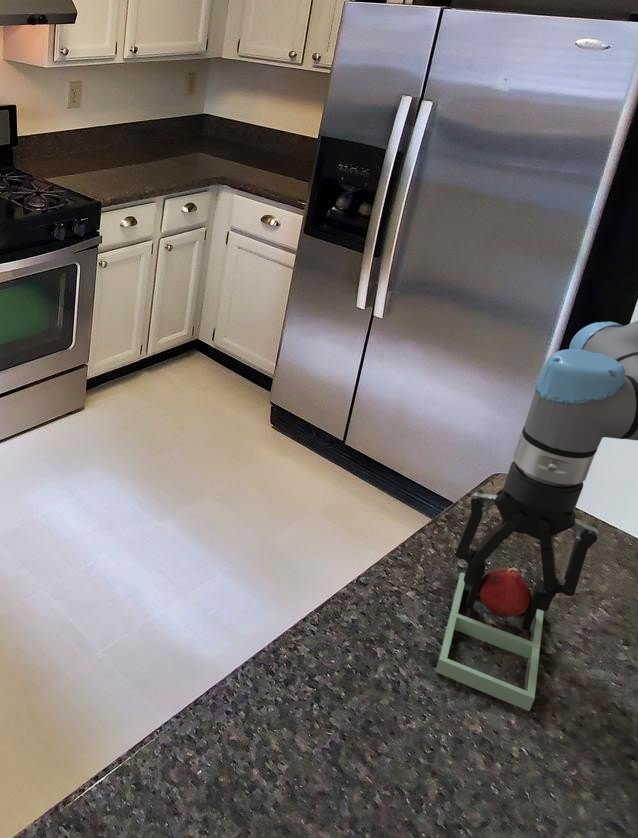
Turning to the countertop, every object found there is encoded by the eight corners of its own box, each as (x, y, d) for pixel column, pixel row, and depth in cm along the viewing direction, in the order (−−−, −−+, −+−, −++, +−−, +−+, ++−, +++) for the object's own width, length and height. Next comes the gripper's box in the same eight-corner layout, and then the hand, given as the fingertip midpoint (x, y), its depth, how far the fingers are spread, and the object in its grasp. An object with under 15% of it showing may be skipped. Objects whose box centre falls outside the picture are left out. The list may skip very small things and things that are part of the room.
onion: (480, 626, 106) (495, 579, 102) (467, 595, 111) (481, 550, 108) (529, 633, 105) (546, 587, 101) (513, 602, 110) (530, 557, 106)
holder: (455, 588, 115) (460, 571, 114) (538, 618, 110) (544, 601, 108) (433, 677, 101) (439, 659, 99) (527, 716, 95) (534, 698, 94)
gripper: (456, 460, 100) (415, 600, 110) (645, 514, 90) (581, 663, 100) (464, 434, 106) (425, 569, 115) (643, 482, 95) (583, 626, 105)
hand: (497, 612), depth 108 cm, fingers closed on onion, 6 cm apart
